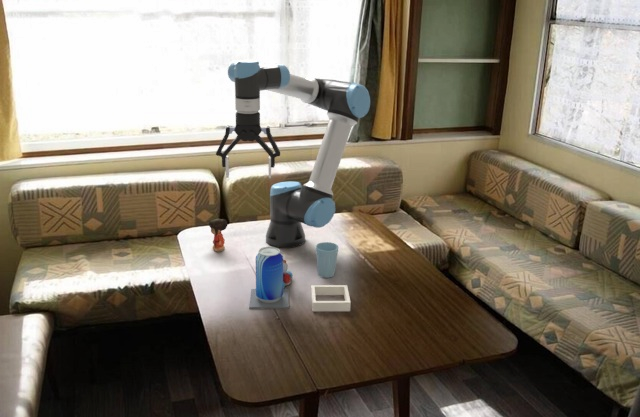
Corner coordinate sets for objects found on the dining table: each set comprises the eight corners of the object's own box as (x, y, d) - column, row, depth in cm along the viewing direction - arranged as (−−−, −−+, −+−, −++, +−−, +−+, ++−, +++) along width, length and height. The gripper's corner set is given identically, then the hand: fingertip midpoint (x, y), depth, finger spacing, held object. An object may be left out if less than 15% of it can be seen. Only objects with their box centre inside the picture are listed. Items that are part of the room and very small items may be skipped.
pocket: (311, 293, 199) (311, 285, 198) (346, 293, 200) (347, 285, 199) (312, 311, 188) (312, 302, 187) (350, 311, 189) (350, 302, 188)
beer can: (271, 289, 200) (271, 243, 195) (288, 298, 195) (288, 251, 189) (250, 297, 195) (249, 250, 189) (267, 306, 189) (267, 259, 184)
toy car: (270, 275, 211) (270, 248, 208) (294, 279, 209) (295, 252, 205) (260, 287, 203) (259, 259, 200) (285, 291, 200) (285, 263, 197)
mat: (251, 290, 200) (251, 288, 200) (288, 290, 201) (288, 288, 201) (249, 308, 189) (249, 307, 189) (288, 308, 190) (288, 306, 189)
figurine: (219, 244, 235) (218, 214, 231) (229, 247, 232) (229, 217, 228) (207, 249, 230) (205, 219, 226) (217, 253, 227) (216, 222, 223)
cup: (341, 277, 211) (342, 249, 207) (320, 280, 208) (321, 252, 204) (331, 268, 218) (332, 240, 214) (311, 271, 215) (312, 244, 211)
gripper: (205, 113, 188) (208, 179, 195) (287, 114, 190) (287, 180, 197) (208, 108, 195) (211, 173, 202) (287, 109, 197) (287, 173, 204)
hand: (248, 176), depth 200 cm, fingers open, 13 cm apart
